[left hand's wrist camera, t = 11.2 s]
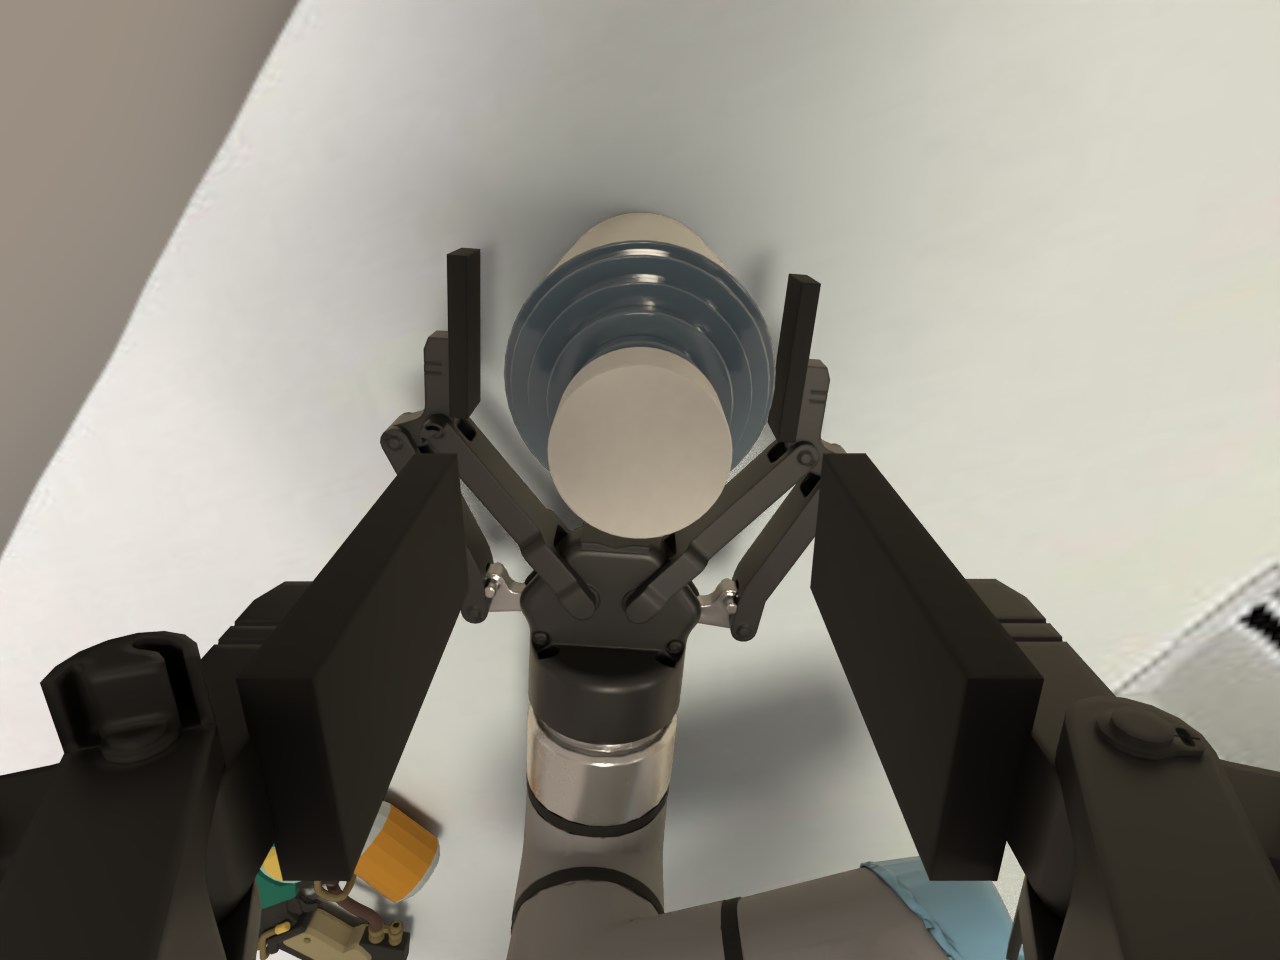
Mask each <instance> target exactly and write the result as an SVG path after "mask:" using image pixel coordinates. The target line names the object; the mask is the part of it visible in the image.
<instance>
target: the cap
mask: <svg viewBox="0 0 1280 960" xmlns="http://www.w3.org/2000/svg"><path fill="white" fill-rule="evenodd" d="M548 463H549V468H550V473H551V476H552V479H553V482H554V484H555V486H556V488H557V490H558V492H559V494H560V496H561V497H562V499H563V500H564V502H565V503H566V504H567V505H568V506H569V508H570V509H571V510H572V511H573V512H574V513H575V514H577V515H578V516H579V517H580V518H581V519H582V520H584V521H585V522H587V523H588V524H590V525H591V526H593V527H595V528H597V529H599V530H601V531H604V532H607V533H609V534H612V535H616V536H621V537H627V538H653V537H659V536H664V535H668V534H671V533H673V532H676V531H679V530H681V529H683V528H685V527H687V526H688V525H690V524H692V523H693V522H695V521H696V520H697V519H699V518H700V517H701V516H702V515H703V514H705V513H706V512H707V511H708V510H709V509H710V507H711V506H712V505H713V504H714V503H715V502H716V500H717V499H718V497H719V496H720V494H721V492H722V490H723V488H724V486H725V484H726V482H727V479H728V476H729V473H730V468H731V463H732V440H731V435H730V431H729V427H728V424H727V421H726V418H725V415H724V412H723V409H722V406H721V403H720V401H719V398H718V396H717V393H716V392H715V390H714V388H713V386H712V385H711V383H710V382H709V381H708V379H707V378H706V377H705V375H704V374H703V373H702V372H701V371H700V370H699V369H698V368H696V367H695V366H694V365H692V364H691V363H690V362H689V361H687V360H685V359H683V358H682V357H680V356H678V355H676V354H673V353H671V352H668V351H665V350H661V349H657V348H649V347H630V348H623V349H619V350H615V351H612V352H609V353H607V354H604V355H602V356H600V357H598V358H597V359H595V360H593V361H591V362H590V363H589V364H588V365H586V366H585V367H584V368H582V369H581V370H580V371H579V372H578V373H577V374H576V375H575V377H574V378H573V379H572V381H571V382H570V383H569V385H568V386H567V388H566V390H565V392H564V393H563V396H562V398H561V401H560V403H559V406H558V409H557V412H556V415H555V418H554V421H553V424H552V426H551V430H550V435H549V439H548Z"/></svg>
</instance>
